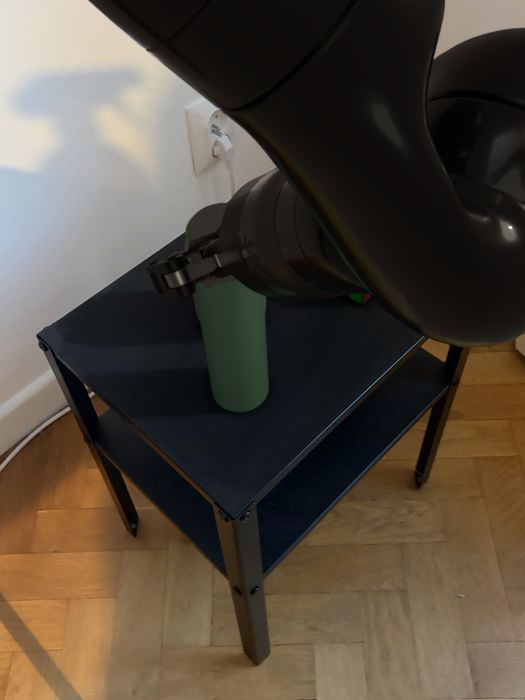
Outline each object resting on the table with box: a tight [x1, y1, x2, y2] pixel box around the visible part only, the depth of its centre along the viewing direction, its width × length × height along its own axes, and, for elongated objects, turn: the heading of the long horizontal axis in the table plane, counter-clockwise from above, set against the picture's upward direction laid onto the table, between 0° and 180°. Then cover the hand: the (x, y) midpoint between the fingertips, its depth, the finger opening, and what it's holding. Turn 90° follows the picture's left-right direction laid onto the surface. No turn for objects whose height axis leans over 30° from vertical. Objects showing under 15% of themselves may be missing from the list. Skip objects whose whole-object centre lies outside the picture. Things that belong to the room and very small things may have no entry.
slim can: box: [185, 202, 270, 413], centre depth 63 cm, size 6×6×22 cm
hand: (225, 248), depth 56 cm, fingers open, 8 cm apart
